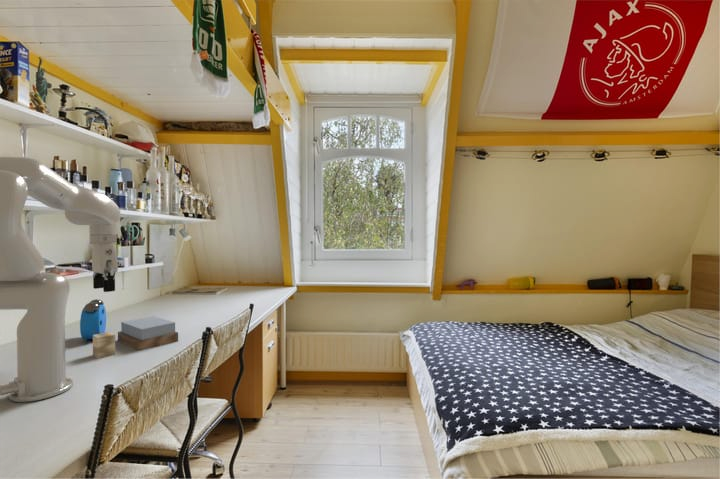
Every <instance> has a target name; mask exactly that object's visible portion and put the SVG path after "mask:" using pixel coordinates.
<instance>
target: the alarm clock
mask: <svg viewBox="0 0 720 479" xmlns="http://www.w3.org/2000/svg"><path fill="white" fill-rule="evenodd" d="M106 328H107V311H106V307H105V304H104V301H103V300H101V299H98V298H97V299H93V300H91V301H90V302H87V303H86V304H85V305H84V307H83V308H82V310H81V313H80V321H79V331H80V337H81V338H82V340H84V342H87V340H88V341H89V340H93V335H96V334H101V333H106Z"/></svg>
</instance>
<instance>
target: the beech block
mask: <svg viewBox="0 0 720 479" xmlns="http://www.w3.org/2000/svg"><path fill="white" fill-rule="evenodd" d="M115 355H116V333H114V332H111V331H107V332H106V331H105V333H101V334H96V335H93V339H92V356H94V357H95V358H96V359H102V358H106V357H111V356H115Z"/></svg>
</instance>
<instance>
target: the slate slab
mask: <svg viewBox="0 0 720 479" xmlns="http://www.w3.org/2000/svg"><path fill="white" fill-rule="evenodd" d="M120 322H121V324H120V325H121V330H120V331H121V332H122V333H124V334H127V335H130V336H132V337H135V338H137V339H140V340H145V339H150V338H154V337H159V336H163V335H167V334H172V333H175V332H176V322H175V321H172V320H168V319H164V318H161V317H158V316H147V317H142V318H136V319H135V318H134V319H130V320H125V321H120Z"/></svg>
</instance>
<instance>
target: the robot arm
mask: <svg viewBox="0 0 720 479" xmlns="http://www.w3.org/2000/svg"><path fill="white" fill-rule="evenodd" d="M28 196H29V197H30V198H32V199H34V200H36V201H38V202H40V203H41V204H43V205H44V206H46V207H49V208H50V209H51V208H52V209H56V210H59V211H64V215H65V218H66V220H67V221H68V222H70V223H71V224H73V225H75V226H89V228H88V230H89V232H88V233H89V245H91V246H92V248H91V269H92V272H93V273H92V276H93V277H92V280H93V282H92V283H93V284H92V285H93V289H103V292H104V293H108V292H115V291H116V273H118V271H119V270H118V269H119V268H118V267H119V266H118V255H117V253H118V252H117V247H116V245H117V244H118V242H117V241H118V240H117V239H118V238H117V223H118V222H119V221H120V219H121V216H122V215H121V209H120V208H119V206H118V204H117V203H116V202H115V201H113V200H112V199H111V198H110V197H109V196H107V195H105V194H104V193H101V192H99V191H96V190H94V189H89V188H88V187H84V186H82V185H79V184H76V183H72V182H70V181H68V180H67V179H66V178H64V177H63V176H61V175H59V174H58V173H57V172H56V171H54V170H53V169H52V168H50V167H48V165H46V164H44V163H43V162H41V161H39V160H37V159H34V158H31V157H30V158H29V157H22V156H21V157H20V156H19V157H18V156H17V157H15V156H0V310H2V311H3V310H5V311H7V310H8V311H9V310H26V313H25V314H24V316H23V317H22V318H21V320H20V321H19V323H18V325H17V328H16V352H17V353H16V355H17V356H16V357H17V358H16V361H17V362H16V364H17V365H16V366H17V368H16V369H17V371H16V372H17V373H16V374H17V377H14V378H13V381H9V382H8V383H7V384H2V385H0V396H5V395H8V399H9V400H10V401H12V402H16V403H27V402H35V401H40V400H44V399H49V398H53V397H55V396H57V395H61V394H63V393H65V392H67V391H68V390H70V389H71V388H72V387H73V385H74V381H73V379H71V378H70V377H67V375H66V368H67V367H66V309H67V305H68V304H67V302H68V299H69V295H70V284H69V280H68V278H66V277H65V276H63V275H61V274H59V273H54V272H45V271H44V269H45V261H44V258H43V257H42V255H41V253H40V251H39V250H38V249H37V246H36V245H35V244H34V243H33V241H32V240H31V238H30V237H29V235H28V233H27V232H26V230H25V229H24V226H23V224H22V215H23V211H24V208H25V204H26V202H27V199H28ZM43 271H44V272H43Z"/></svg>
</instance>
